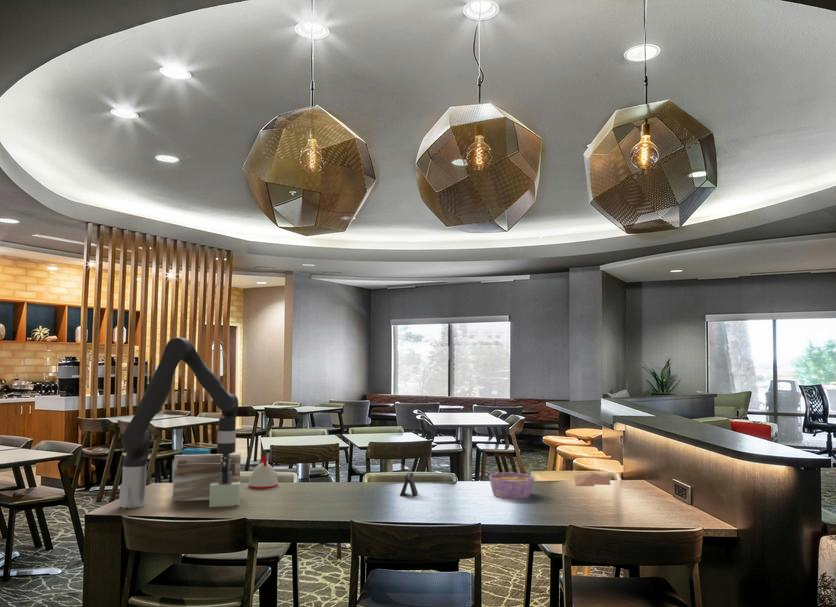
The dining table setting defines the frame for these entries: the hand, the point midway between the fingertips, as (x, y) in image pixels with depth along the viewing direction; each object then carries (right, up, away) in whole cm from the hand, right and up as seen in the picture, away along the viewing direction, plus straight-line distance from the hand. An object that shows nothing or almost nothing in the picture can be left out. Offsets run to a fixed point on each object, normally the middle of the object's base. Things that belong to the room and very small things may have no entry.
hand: (225, 482), depth 271 cm
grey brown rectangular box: (-12, -11, +12) cm, 20 cm away
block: (-22, -12, +26) cm, 36 cm away
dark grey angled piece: (+78, -13, +16) cm, 80 cm away
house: (+168, -16, +43) cm, 174 cm away
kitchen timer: (+6, -14, +40) cm, 43 cm away
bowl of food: (+123, -13, +14) cm, 125 cm away
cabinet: (-1, -11, +3) cm, 11 cm away
